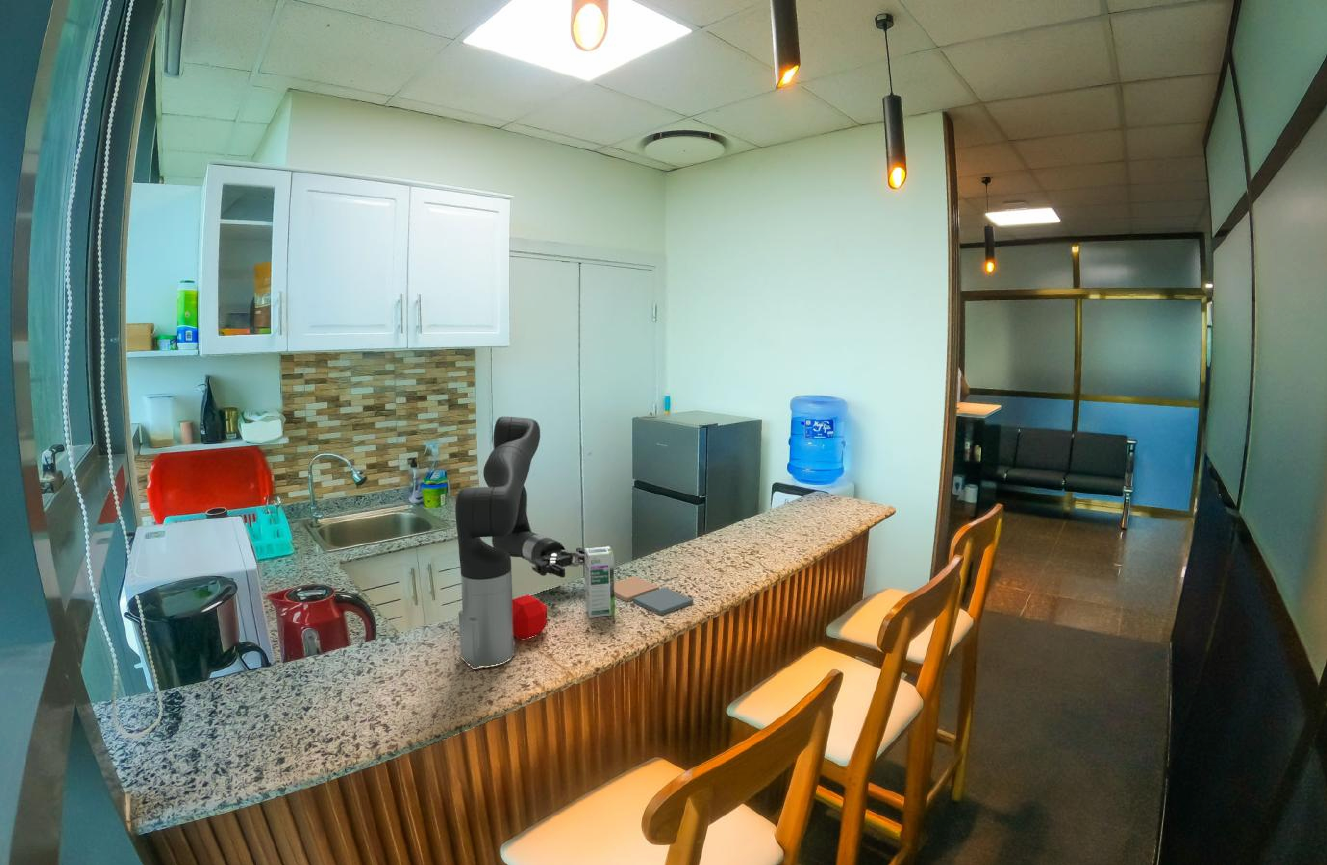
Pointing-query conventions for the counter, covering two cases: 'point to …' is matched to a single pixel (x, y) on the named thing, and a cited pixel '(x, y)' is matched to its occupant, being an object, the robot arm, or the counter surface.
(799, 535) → the counter surface
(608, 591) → the syrup box
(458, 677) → the counter surface
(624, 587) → the terracotta tile
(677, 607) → the slate tile
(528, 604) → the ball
